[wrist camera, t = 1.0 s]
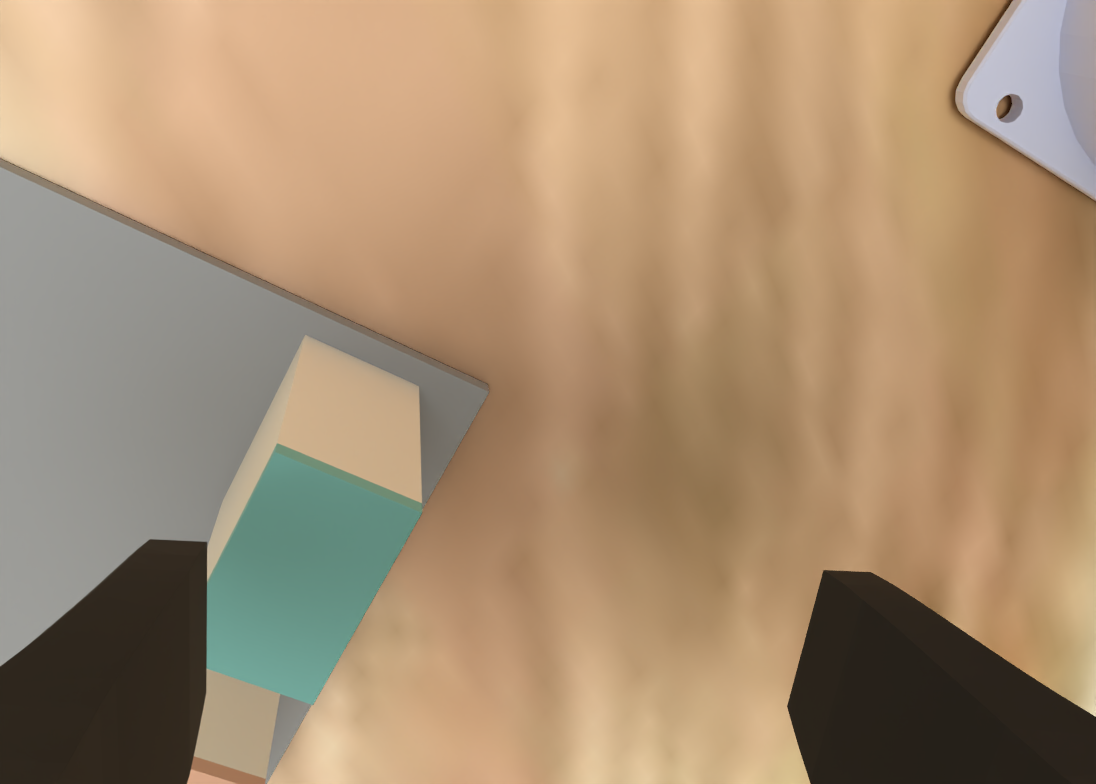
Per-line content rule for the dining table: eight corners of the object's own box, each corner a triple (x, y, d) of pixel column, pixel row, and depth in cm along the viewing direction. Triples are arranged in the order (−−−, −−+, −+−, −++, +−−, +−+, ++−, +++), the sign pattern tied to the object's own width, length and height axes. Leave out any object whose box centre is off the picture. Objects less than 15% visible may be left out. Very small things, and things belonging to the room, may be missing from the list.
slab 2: (418, 385, 21) (422, 513, 16) (333, 544, 22) (313, 704, 17) (304, 334, 20) (275, 451, 15) (222, 501, 21) (171, 656, 17)
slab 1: (292, 618, 22) (263, 791, 18) (219, 754, 24) (174, 949, 19) (184, 578, 22) (125, 748, 17) (113, 719, 23) (40, 914, 18)
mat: (487, 384, 21) (489, 392, 21) (266, 774, 24) (264, 787, 24) (-138, 94, 18) (-150, 98, 17) (-300, 594, 21) (-313, 605, 21)
